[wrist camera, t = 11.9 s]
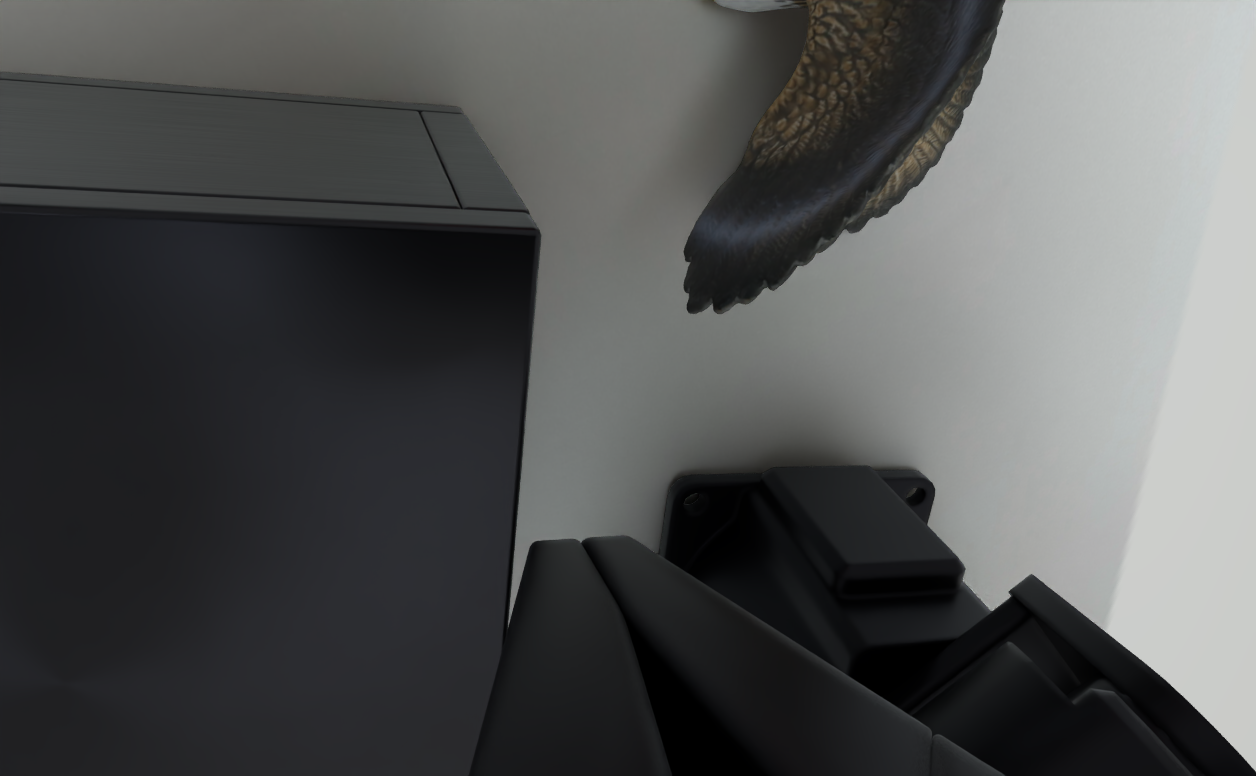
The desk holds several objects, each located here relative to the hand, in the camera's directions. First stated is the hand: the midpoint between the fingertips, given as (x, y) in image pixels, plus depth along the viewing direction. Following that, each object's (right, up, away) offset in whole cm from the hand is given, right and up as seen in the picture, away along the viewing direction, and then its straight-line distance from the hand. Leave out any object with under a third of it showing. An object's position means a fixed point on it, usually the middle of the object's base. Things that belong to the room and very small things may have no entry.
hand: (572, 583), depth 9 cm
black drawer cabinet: (-8, +1, +11) cm, 14 cm away
